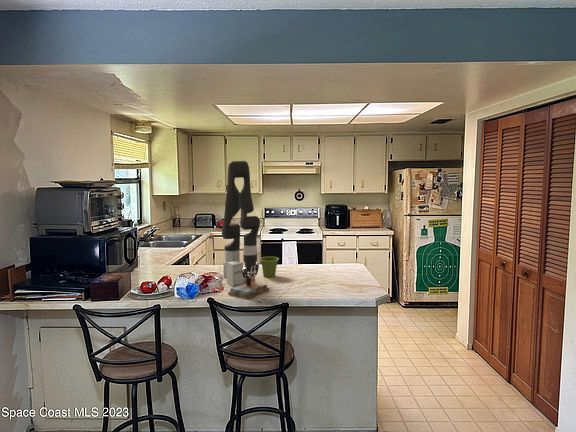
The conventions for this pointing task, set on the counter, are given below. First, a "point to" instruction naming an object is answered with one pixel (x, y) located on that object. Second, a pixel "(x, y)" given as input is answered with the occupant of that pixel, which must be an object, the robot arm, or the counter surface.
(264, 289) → the ticket board
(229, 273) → the supplement box
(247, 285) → the stub
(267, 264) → the plant pot
